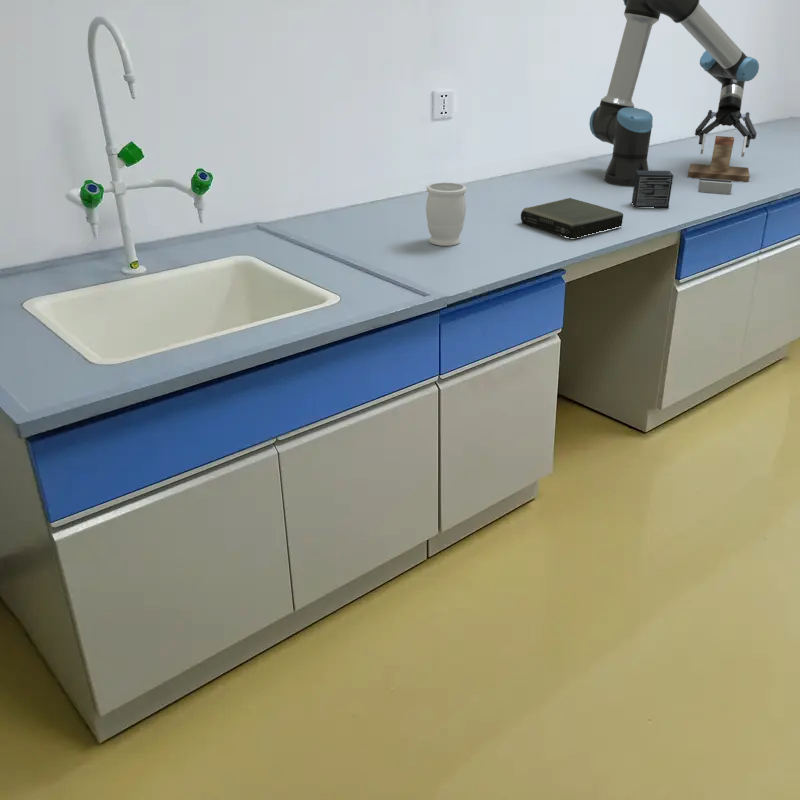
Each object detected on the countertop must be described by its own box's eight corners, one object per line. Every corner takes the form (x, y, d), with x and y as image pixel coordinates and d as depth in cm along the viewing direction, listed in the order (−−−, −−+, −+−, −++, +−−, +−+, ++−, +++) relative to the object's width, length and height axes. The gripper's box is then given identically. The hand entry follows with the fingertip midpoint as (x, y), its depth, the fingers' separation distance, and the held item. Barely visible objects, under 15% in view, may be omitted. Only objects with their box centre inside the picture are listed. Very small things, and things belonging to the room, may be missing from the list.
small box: (664, 203, 256) (670, 170, 251) (668, 209, 250) (674, 175, 245) (630, 202, 257) (635, 169, 252) (634, 208, 251) (638, 174, 246)
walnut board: (687, 177, 286) (688, 171, 285) (689, 168, 298) (690, 163, 297) (748, 182, 281) (749, 176, 280) (747, 173, 292) (748, 167, 291)
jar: (462, 236, 226) (464, 181, 218) (466, 247, 217) (468, 191, 209) (424, 236, 225) (425, 182, 218) (426, 248, 216) (427, 191, 209)
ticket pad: (709, 170, 287) (715, 138, 282) (710, 167, 291) (715, 135, 286) (727, 171, 285) (734, 139, 280) (727, 168, 290) (734, 137, 284)
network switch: (627, 227, 235) (630, 210, 232) (581, 245, 220) (583, 227, 218) (561, 211, 249) (562, 195, 247) (513, 226, 235) (514, 209, 232)
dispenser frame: (698, 191, 269) (700, 181, 267) (699, 185, 277) (700, 174, 275) (730, 194, 266) (732, 183, 264) (730, 187, 274) (732, 177, 272)
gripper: (766, 110, 289) (758, 162, 283) (692, 106, 296) (684, 156, 291) (770, 96, 282) (762, 149, 276) (694, 93, 289) (686, 144, 284)
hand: (722, 153), depth 283 cm, fingers open, 13 cm apart
